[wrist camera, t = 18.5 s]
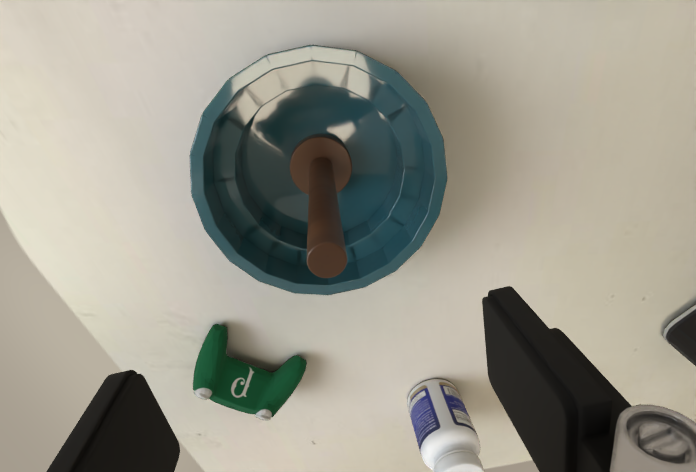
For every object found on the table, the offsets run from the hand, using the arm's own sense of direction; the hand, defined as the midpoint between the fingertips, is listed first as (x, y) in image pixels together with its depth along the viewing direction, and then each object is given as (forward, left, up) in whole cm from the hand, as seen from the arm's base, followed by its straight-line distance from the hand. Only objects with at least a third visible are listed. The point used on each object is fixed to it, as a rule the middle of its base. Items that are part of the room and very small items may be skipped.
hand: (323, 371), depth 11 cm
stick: (0, 0, -21) cm, 21 cm away
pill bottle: (+6, -26, -22) cm, 34 cm away
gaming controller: (-10, -16, -22) cm, 29 cm away
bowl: (0, 0, -22) cm, 22 cm away
